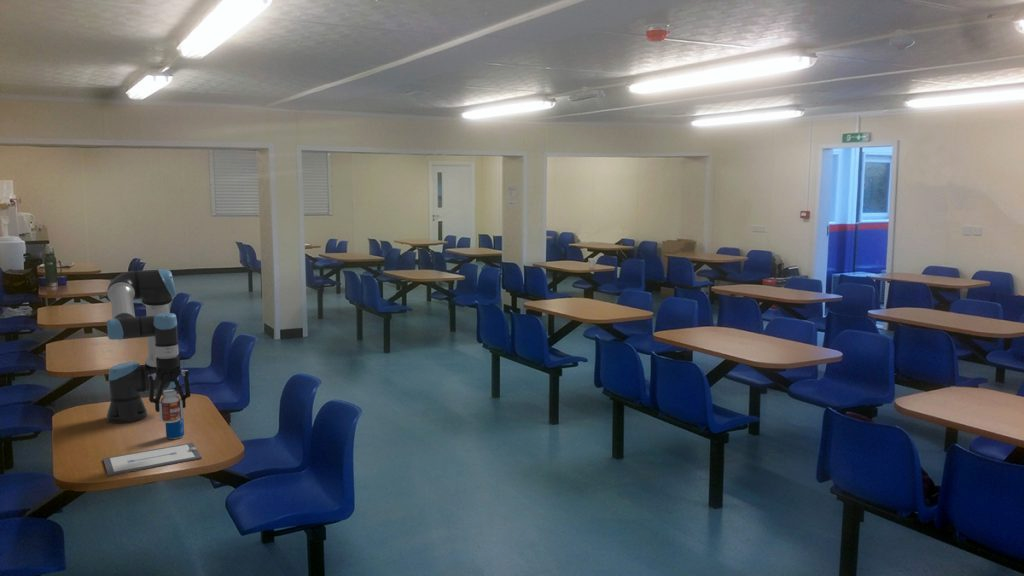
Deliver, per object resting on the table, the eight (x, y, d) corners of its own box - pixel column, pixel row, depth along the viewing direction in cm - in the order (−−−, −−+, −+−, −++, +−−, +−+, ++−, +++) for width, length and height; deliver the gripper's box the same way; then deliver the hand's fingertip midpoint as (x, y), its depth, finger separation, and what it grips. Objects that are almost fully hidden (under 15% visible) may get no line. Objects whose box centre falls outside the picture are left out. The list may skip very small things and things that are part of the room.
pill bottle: (172, 424, 264) (170, 394, 262) (158, 422, 266) (156, 392, 264) (184, 419, 270) (182, 389, 268) (170, 417, 272) (169, 388, 270)
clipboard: (103, 459, 265) (102, 456, 265) (192, 444, 282) (192, 440, 281) (108, 476, 250) (107, 472, 250) (201, 458, 267) (201, 455, 267)
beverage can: (177, 440, 286) (175, 410, 284) (162, 439, 287) (160, 409, 285) (188, 435, 292) (186, 405, 290) (173, 433, 293) (171, 404, 291)
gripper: (139, 361, 256) (143, 425, 259) (197, 355, 267) (201, 416, 270) (136, 357, 263) (140, 420, 266) (193, 351, 273) (197, 411, 276)
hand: (171, 418), depth 268 cm, fingers closed on pill bottle, 6 cm apart
